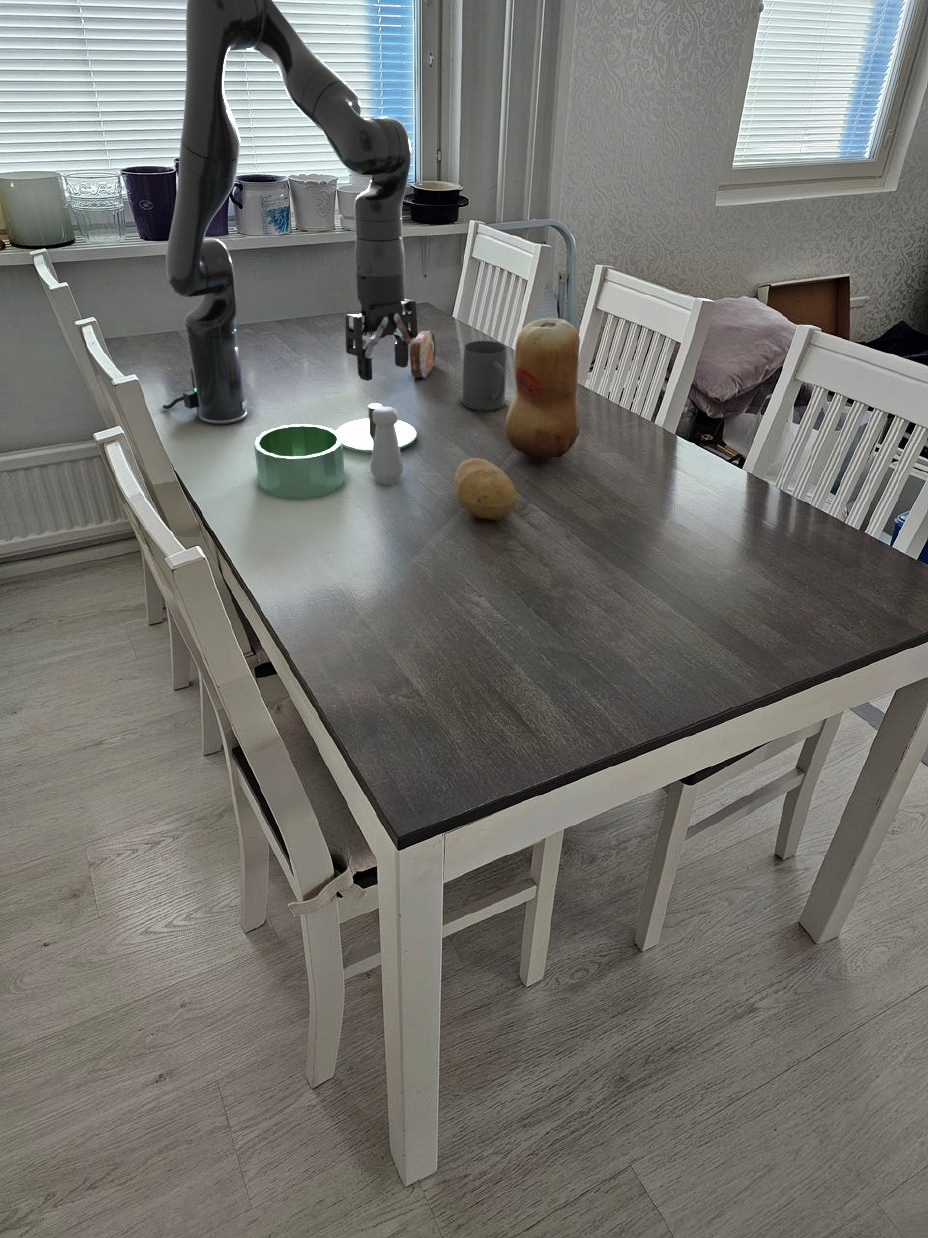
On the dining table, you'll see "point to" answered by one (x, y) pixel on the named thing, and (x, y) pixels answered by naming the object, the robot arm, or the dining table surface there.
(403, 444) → the pot lid
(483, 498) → the potato
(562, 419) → the butternut squash
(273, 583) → the dining table surface
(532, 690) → the dining table surface
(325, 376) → the dining table surface
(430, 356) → the tin
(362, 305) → the robot arm
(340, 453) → the pot
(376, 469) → the salt shaker
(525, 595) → the dining table surface
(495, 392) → the mug
